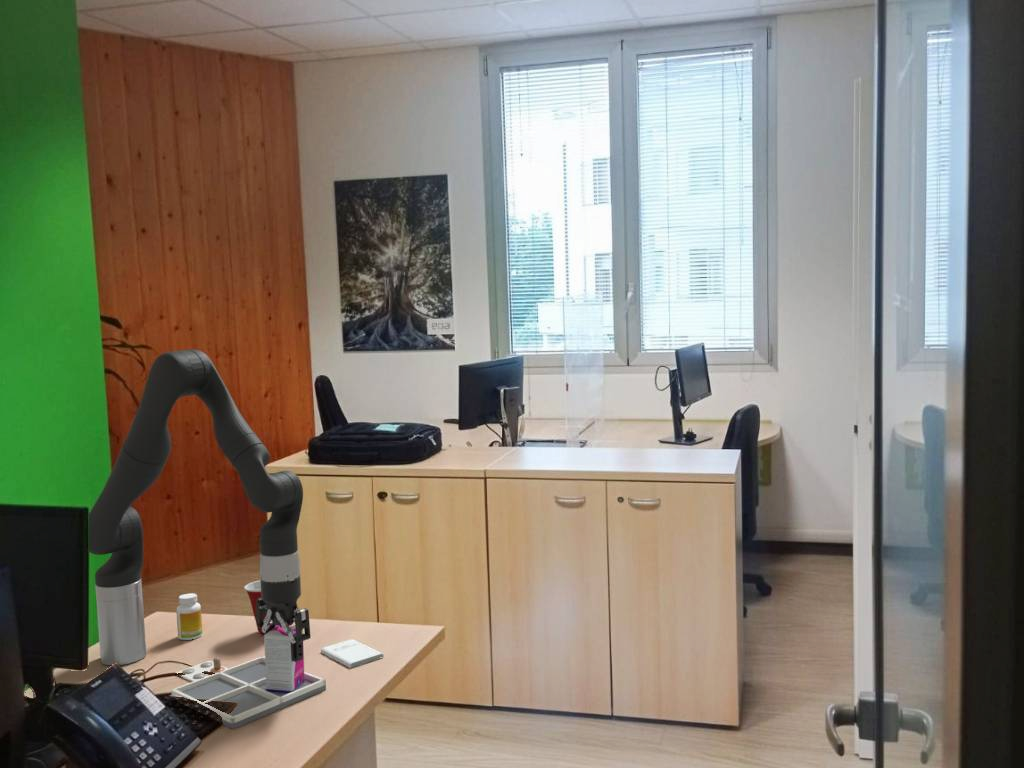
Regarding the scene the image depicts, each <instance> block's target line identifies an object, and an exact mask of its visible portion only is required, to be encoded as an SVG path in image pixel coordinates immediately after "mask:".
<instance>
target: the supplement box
mask: <svg viewBox="0 0 1024 768" xmlns="http://www.w3.org/2000/svg"><path fill="white" fill-rule="evenodd" d="M291 626H292V625H291ZM291 626H289V627H291ZM302 631H303V632H304V629H302ZM293 633H294V635H295V636H296V631H293ZM263 638H264V639H263V640H264V642H263V643H264V656H265V673H266V691H268V692H276V693H291V692H293V691H295V690H296V689H297V688H298V687H299V686H300V685H301V684H303V683H304V672H305V658H304V657H305V656H304V655H305V654H304V653H305V651H304V647H303V658H302V660H299V661H297V662H294V661H292V660H291V643H292V642H291V640H290V638H289V635H288V634H286V633H285V632H284V630H283V628H282V627H280V626H279V625H277V626H276V627H275V628H273V629H272V630H271V631H269V632H268V633H267V634H265V635H264V636H263Z"/></svg>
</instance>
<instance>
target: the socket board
mask: <svg viewBox="0 0 1024 768" xmlns="http://www.w3.org/2000/svg"><path fill="white" fill-rule="evenodd" d="M228 668H229V669H226V670H223V671H221V672H218V673H215V674H212V675H210V676H207V677H204V678H202V679H199V680H196V681H193V682H191V681H190V682H188V683H185V684H182V685H180V686H177V687H174V688H172V689H170V691H171V692H170V695H177V696H181V697H185V698H187V699H190V700H194V701H197V703H199V704H201V705H203V706H205V707H207V708H209V709H210V710H212V711H214V712H216V713H217V714H218V715H220V716H221V717H222V722H223V724H224V725H223V724H222V725H223V726H225V725H226V726H225V727H227V728H229V729H231V730H234V729H237V728H239V727H241V726H244V725H246V724H248V723H250V722H253V721H255V720H258V719H260V718H262V717H265V716H266V715H269V714H271V713H274V712H278V711H279V710H282V709H283V708H286V707H288V705H289V706H291V705H292V704H293V705H294V704H296V703H297V702H300V701H302V700H305V699H307V698H310V697H312V696H314V695H317V694H318V693H322V692H324V691H325V690H327V685H326V683H327V682H326V678H323V677H320V676H317V675H315V674H313V673H312V674H311V673H309V672H306V671H304V683H303V684H301V685H300V686H299V687H298V688H297V689H296V690H295V691H293V692H291V693H276V692H268V691H266V673H265V655H262V656H260V657H257V658H254V659H251V660H248V661H245V662H243V663H240V664H237V665H235V666H232V667H228ZM195 698H198V699H209V700H206V701H204V702H201V701H199V700H197V699H195ZM211 701H222V702H235V703H237V706H236V707H235V708H234V710H233V711H232V712H231V713H229V714H227V713H225V712H222V711H220V710H218V709H216V708H214V707H212V706H210V705H208V704H205V703H208V702H211ZM295 702H296V703H295Z"/></svg>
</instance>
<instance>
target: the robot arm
mask: <svg viewBox="0 0 1024 768" xmlns="http://www.w3.org/2000/svg"><path fill="white" fill-rule="evenodd" d="M227 388H228V387H227V386H226V384H225V382H224V381H223V379H222V378H221V376H220V374H219V372H218V370H217V368H216V366H215V365H214V363H213V361H212V360H211V358H210V357H209V356H208V355H207V354H206V353H205V352H203V351H201V350H198V349H181V350H173V351H166V352H164V353H161V354H159V355H158V356H157V357H156V358H155V359H154V361H153V362H152V364H151V367H150V370H149V373H148V376H147V379H146V383H145V385H144V389H143V393H142V396H141V400H140V402H139V405H138V409H137V411H136V413H135V416H134V418H133V421H132V423H131V426H130V428H129V430H128V433H127V436H126V437H125V438H124V441H123V444H122V445H121V447H120V450H119V452H118V455H117V458H116V460H115V463H114V465H113V468H112V470H111V471H110V475H109V477H108V478H107V481H106V483H105V484H104V487H103V489H102V490H101V493H100V494H99V496H98V497H97V500H96V501H95V503H94V505H93V506H92V508H91V509H90V512H89V513H88V515H89V551H88V553H90V554H92V555H96V556H102V555H103V556H105V555H108V554H111V555H110V557H109V558H108V559H107V560H106V562H104V563H103V564H102V565H101V566H100V567H99V568H98V569H97V570H96V571H95V573H94V583H95V585H94V586H95V596H96V597H95V598H96V611H97V613H96V614H97V627H98V641H99V653H100V654H99V655H100V663H101V664H103V665H105V666H113V665H112V664H115V663H117V664H119V665H118V666H123V665H129V664H133V663H136V662H138V661H140V660H142V659H143V658H145V657H146V656H147V644H146V643H147V642H146V627H145V626H146V625H145V614H144V599H143V598H144V597H143V585H142V583H143V582H142V570H143V568H144V567H143V566H144V529H143V523H142V519H141V516H140V514H139V513H138V511H137V509H135V508H134V507H132V504H134V502H136V501H137V500H138V498H139V497H141V496H142V495H143V494H144V493H145V492H146V491H147V490H149V488H151V487H152V485H153V484H154V483H155V482H156V481H157V480H158V478H159V477H160V475H161V473H163V470H164V467H165V466H166V464H167V462H168V459H169V458H170V457H169V456H170V454H171V451H172V439H171V434H170V431H169V430H170V429H169V426H168V421H169V417H170V414H171V413H172V410H173V408H174V406H175V404H176V402H177V401H178V400H179V399H180V398H181V397H182V398H183V397H189V396H197V397H198V398H199V399H200V401H202V402H203V403H204V405H205V406H206V407H207V409H208V410H209V412H210V415H211V417H212V423H213V431H214V437H215V441H216V443H217V445H218V447H219V449H220V450H221V453H222V454H223V455H224V456H225V457H226V458H227V460H228V461H229V462H230V464H231V465H232V467H233V468H234V469H235V470H236V471H237V474H238V476H239V480H240V483H241V485H242V487H243V489H244V492H245V495H246V497H247V499H248V501H249V503H250V504H251V505H252V506H253V507H254V508H255V509H257V510H259V511H260V512H262V513H265V514H267V513H271V515H270V517H269V519H268V520H267V521H266V522H264V523H263V524H261V527H260V529H259V542H260V543H259V544H260V545H259V548H260V550H259V551H260V561H259V574H260V579H259V580H261V598H259V599H257V600H256V620H255V624H256V625H255V626H256V628H257V627H258V628H260V627H261V628H262V632H263V633H264V635H265V634H267V633H268V632H269V631H271V630H272V629H273V628H275V627H276V626H277V625H279V626H280V627H282V628H283V630H284V632H285V633H286V634H288V635H289V638H290V640H291V642H292V643H291V660H292V661H294V662H297V661H299V660H302V658H303V648H304V641H306V640H310V639H311V626H310V615H309V614H310V613H309V609H308V608H307V607H306V608H302V609H301V608H299V606H298V604H297V601H298V599H299V598H300V597H301V594H302V585H301V564H300V557H299V551H298V549H299V546H298V530H297V529H298V525H299V522H300V518H301V511H302V507H303V506H302V505H303V500H304V488H303V485H302V484H303V483H302V482H301V479H300V478H299V476H298V475H297V474H296V473H295V472H294V471H291V470H281V471H278V472H273V473H269V472H268V471H267V469H266V466H267V465H268V464H269V462H270V459H271V454H270V452H269V450H268V448H267V447H266V445H264V443H263V442H262V440H261V439H260V438H259V437H258V435H257V434H256V433H255V432H254V430H253V429H252V428H251V426H250V425H249V424H248V423H247V421H246V420H245V418H244V417H243V416H242V414H241V412H240V411H239V408H238V406H237V405H236V403H235V401H234V400H233V398H232V396H231V394H230V392H229V390H228V389H227ZM263 615H265V619H264V620H262V616H263ZM293 624H294V625H293ZM289 626H291V627H289ZM302 629H303V631H302ZM293 631H296V636H295V635H294V633H293Z"/></svg>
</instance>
